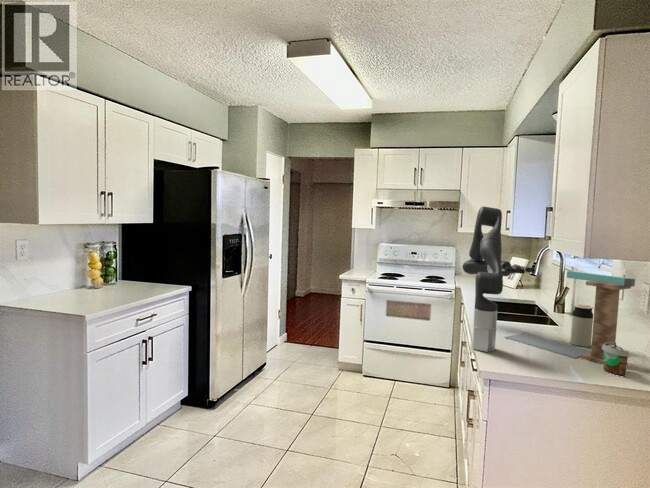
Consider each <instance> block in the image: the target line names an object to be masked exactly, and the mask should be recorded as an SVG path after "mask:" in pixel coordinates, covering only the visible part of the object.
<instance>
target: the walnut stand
mask: <svg viewBox="0 0 650 488" xmlns="http://www.w3.org/2000/svg"><path fill="white" fill-rule="evenodd" d="M585 286H590V287H595V295H594V307H593V325H592V338H591V346H590V347H591V349H590V351H591V352H589V353H586V354H582V355H581V357H580V359H581V360H585V361H588V362H592V363H595V364H598V365H602V364H603V365H602V366H604V350H602V346H603V344H604V343H605V342H616V341H617V340H616V339H617V338H616V337H617V326H618V315H619V303H620V291H622V290H629V289H632V287H631V286H624V285H616V284H609V283H602V282H595V281H587V280H585Z"/></svg>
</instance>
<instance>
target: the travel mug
mask: <svg viewBox="0 0 650 488" xmlns="http://www.w3.org/2000/svg"><path fill="white" fill-rule="evenodd" d="M573 306H574V310H573V311H572V318H571V333H570V344H572V345H574V346H576V347H580V348H582V347H583V348H589V347H591V346H592V333H593V320H594V312H593V310H594V307H593V306H591V305H587V304H580V303H579V304H573Z"/></svg>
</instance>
